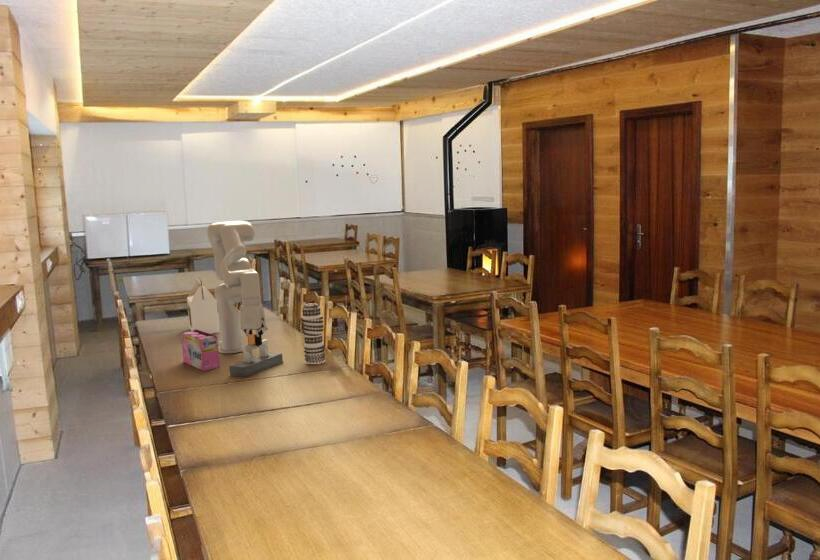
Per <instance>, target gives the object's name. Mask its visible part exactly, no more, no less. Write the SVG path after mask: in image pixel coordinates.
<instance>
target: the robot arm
mask: <svg viewBox="0 0 820 560" xmlns="http://www.w3.org/2000/svg"><path fill="white" fill-rule="evenodd" d="M206 229H207V230H206V232H207V238H208V241H209V243H210V245H211V247H212V250H213V257H214V265H215V267H214V268H215V275H216V277H217V279H218V280H220V281H222V282H223V283H220V284H218V285H216V286H215V288H214V298H215V299H216V301H217V311H218V322H219V333H220V340H218V347H219V348H218V350H219V353H220V354H227V355H228V354H238V353H241V352H242V347H243V346H245V345H244V344H243V333H242V331H243V332H244V333H245V335H246V337H248V334H251V333H254V331H255V333H256V336H257V337H255V339H256V346H260V345H262V340H263V339H262V338H263V335H264V333H265V332H266V331H267V330H268V327H267V322H266V315H265V310H264V305H263V304H262V299H261V298H262V297H261V289H260V287H261V286H260V275H259V273H258V272H257V271H256V270H255V269H253V268H252V265H251V262H250V260H249V259H248V258H247V257H245V256H246V254H247V247H246V245H245V242H251V241H253V240H254V239H255V229H254V227H253V225H252V224H251V222H249V221H247V220H234V221H219V222H214V223H211V224H209V225H208V226H207V228H206ZM237 303H242V304H241V305H240V310H239V309H238V307H236V306H235V305H234V304H237ZM247 342H248V344H247V345H249V339H248V338H247ZM242 353H243V352H242Z"/></svg>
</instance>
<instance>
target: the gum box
mask: <svg viewBox="0 0 820 560" xmlns="http://www.w3.org/2000/svg"><path fill="white" fill-rule="evenodd" d="M180 336H181V349H182V359H183V363H186V364H187V365H190V366H192V367H194V368H196V369H199V370H201V371H209V370H213V369H217V368H221V363H220V362H221V361H220V354H219V353H220V352H219V346H218V341H219V340H218V336H217V335H215V334H209V333H206V332H203V331H200V330H193V332H191V331H186V332H183V331H181V332H180Z"/></svg>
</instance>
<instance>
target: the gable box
mask: <svg viewBox="0 0 820 560" xmlns="http://www.w3.org/2000/svg"><path fill="white" fill-rule="evenodd" d="M194 281H195V282H196V283H194V285H193V286H192V289H191V290H190V291H189V294H188V296H187V297H186V302H187V303H186V304H187V312H188V313H187V314H188V322H189V329H190V332H193V330H200V331H203V332H206V333H209V334H212V335H214V334H219V333H220V322H219V312H218V306H217V301H216V297H215V296H214V295H213V294H212V293H211V291H209V289H208V288H207V287H206V286H205V285H204V284H203V281H202V279H201V278H200V277H197V280H196V279H194Z"/></svg>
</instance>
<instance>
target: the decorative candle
mask: <svg viewBox="0 0 820 560" xmlns="http://www.w3.org/2000/svg"><path fill="white" fill-rule="evenodd" d="M301 310H302V317H301V318H300V320H301V321H302V322H301V323H300V324H301V325H302V326H301V329H302V334H303V335H302V336H303V338H304V342H303V343H304V345H303V346H304V347H303V349H304V353H305V354H304V360H305V363H306V364H305V365H307V364H318V365H322V364H325V363H326V360H325V359H326V353H325V352H324V351H325V345H324V340H323V339H324V338H323V336H324V329H323V328H324V325H323V323H324V320H323V319H324V317H323V316H322V314H321V306H320V305H319V304H318V303H315V302H309V303H308V302H307V303H305V304H304V305H303V306H302V307H301ZM324 362H325V363H324ZM321 363H322V364H321Z"/></svg>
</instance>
